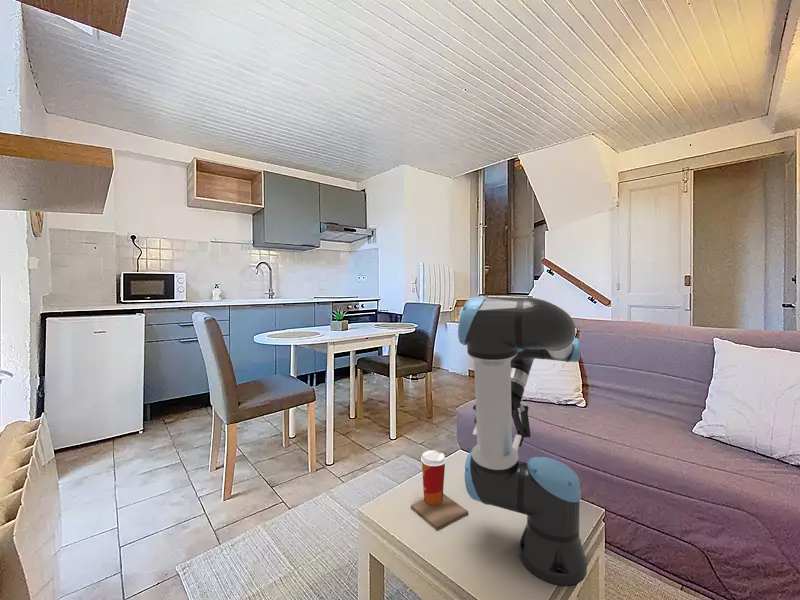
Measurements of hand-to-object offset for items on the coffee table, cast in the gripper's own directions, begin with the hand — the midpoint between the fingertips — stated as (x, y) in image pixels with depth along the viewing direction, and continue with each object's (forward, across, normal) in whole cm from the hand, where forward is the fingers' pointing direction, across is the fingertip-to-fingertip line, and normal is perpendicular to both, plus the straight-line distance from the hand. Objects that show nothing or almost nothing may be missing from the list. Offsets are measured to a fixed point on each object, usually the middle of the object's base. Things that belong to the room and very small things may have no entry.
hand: (493, 445), depth 113 cm
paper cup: (+22, +9, -8) cm, 25 cm away
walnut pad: (+24, +8, -4) cm, 25 cm away
